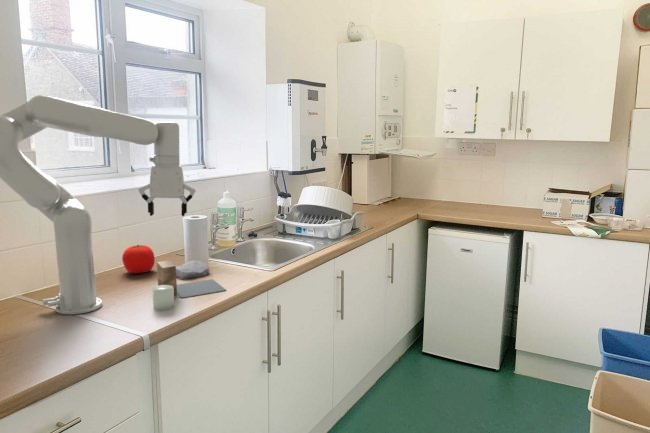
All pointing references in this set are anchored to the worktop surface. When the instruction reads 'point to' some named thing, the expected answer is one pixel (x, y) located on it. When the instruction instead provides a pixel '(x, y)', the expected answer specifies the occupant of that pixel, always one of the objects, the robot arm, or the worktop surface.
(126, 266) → the tomato
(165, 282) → the brown wooden block
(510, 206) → the worktop surface
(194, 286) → the mat
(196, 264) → the stone block
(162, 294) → the rounded cube
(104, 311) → the worktop surface
